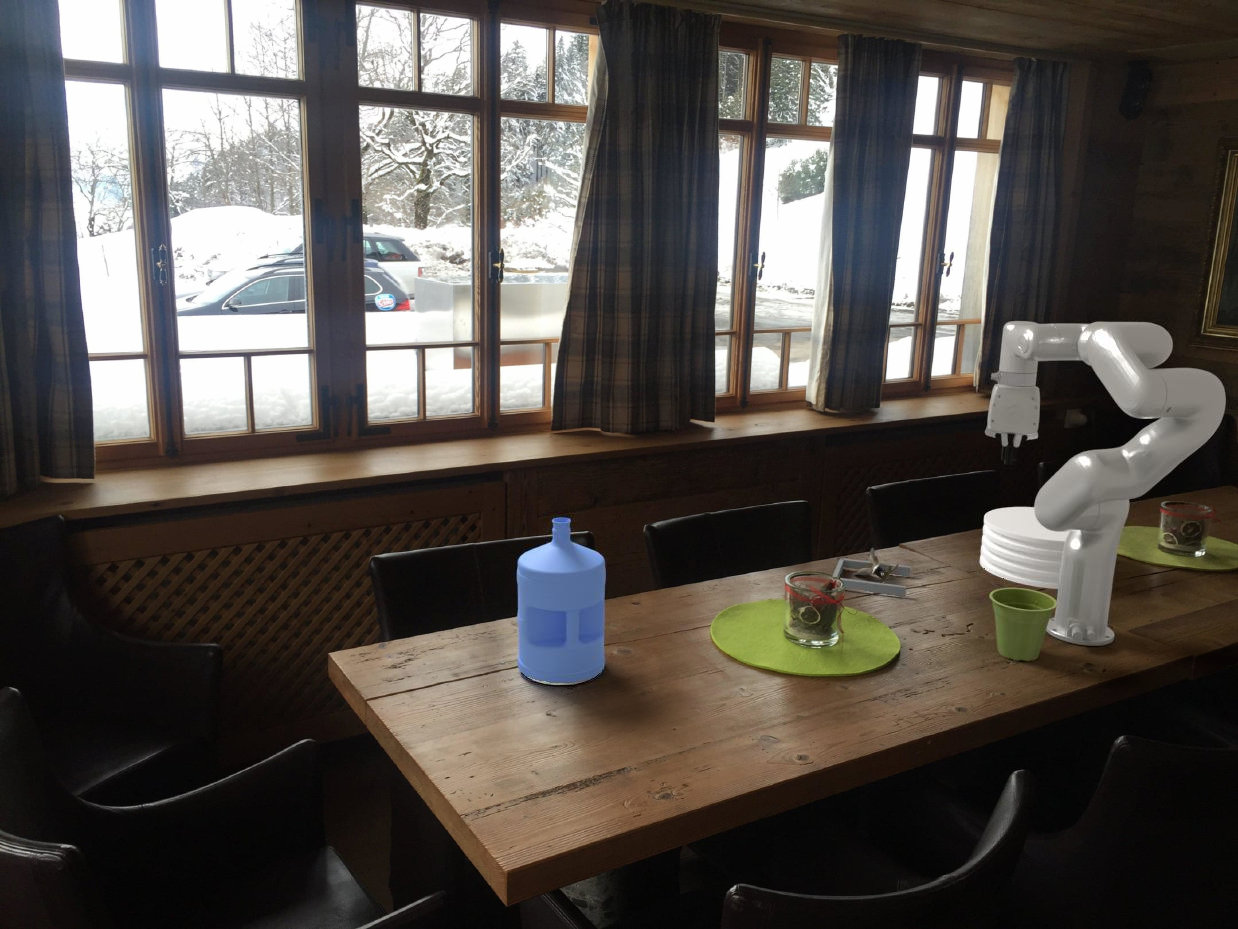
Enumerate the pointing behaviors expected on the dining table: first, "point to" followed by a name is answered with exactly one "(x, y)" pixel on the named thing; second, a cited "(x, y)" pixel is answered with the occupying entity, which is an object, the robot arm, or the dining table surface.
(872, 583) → the gray frame
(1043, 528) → the plate stack
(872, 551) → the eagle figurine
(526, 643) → the water jug
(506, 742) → the dining table surface
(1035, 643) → the plant pot
